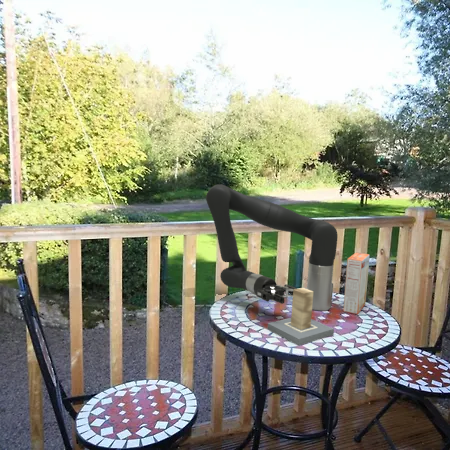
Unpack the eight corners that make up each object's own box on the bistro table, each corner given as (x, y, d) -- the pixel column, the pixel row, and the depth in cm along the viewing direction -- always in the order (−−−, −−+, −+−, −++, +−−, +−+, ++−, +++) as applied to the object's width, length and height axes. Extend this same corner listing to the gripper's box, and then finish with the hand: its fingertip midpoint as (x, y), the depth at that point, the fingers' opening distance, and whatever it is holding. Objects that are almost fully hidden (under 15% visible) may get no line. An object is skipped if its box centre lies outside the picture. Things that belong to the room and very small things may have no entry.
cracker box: (350, 301, 165) (355, 251, 162) (365, 305, 162) (370, 254, 159) (341, 311, 153) (346, 257, 150) (358, 315, 150) (363, 260, 147)
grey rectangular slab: (301, 320, 142) (302, 314, 141) (333, 334, 131) (334, 328, 130) (267, 329, 132) (267, 322, 132) (298, 345, 121) (299, 338, 121)
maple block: (300, 322, 134) (303, 287, 133) (310, 327, 131) (313, 291, 129) (290, 325, 132) (293, 289, 130) (300, 329, 128) (303, 293, 126)
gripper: (246, 278, 142) (277, 290, 129) (276, 273, 150) (308, 284, 137) (245, 298, 143) (276, 313, 130) (274, 292, 151) (307, 306, 138)
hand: (292, 298), depth 134 cm, fingers open, 8 cm apart
